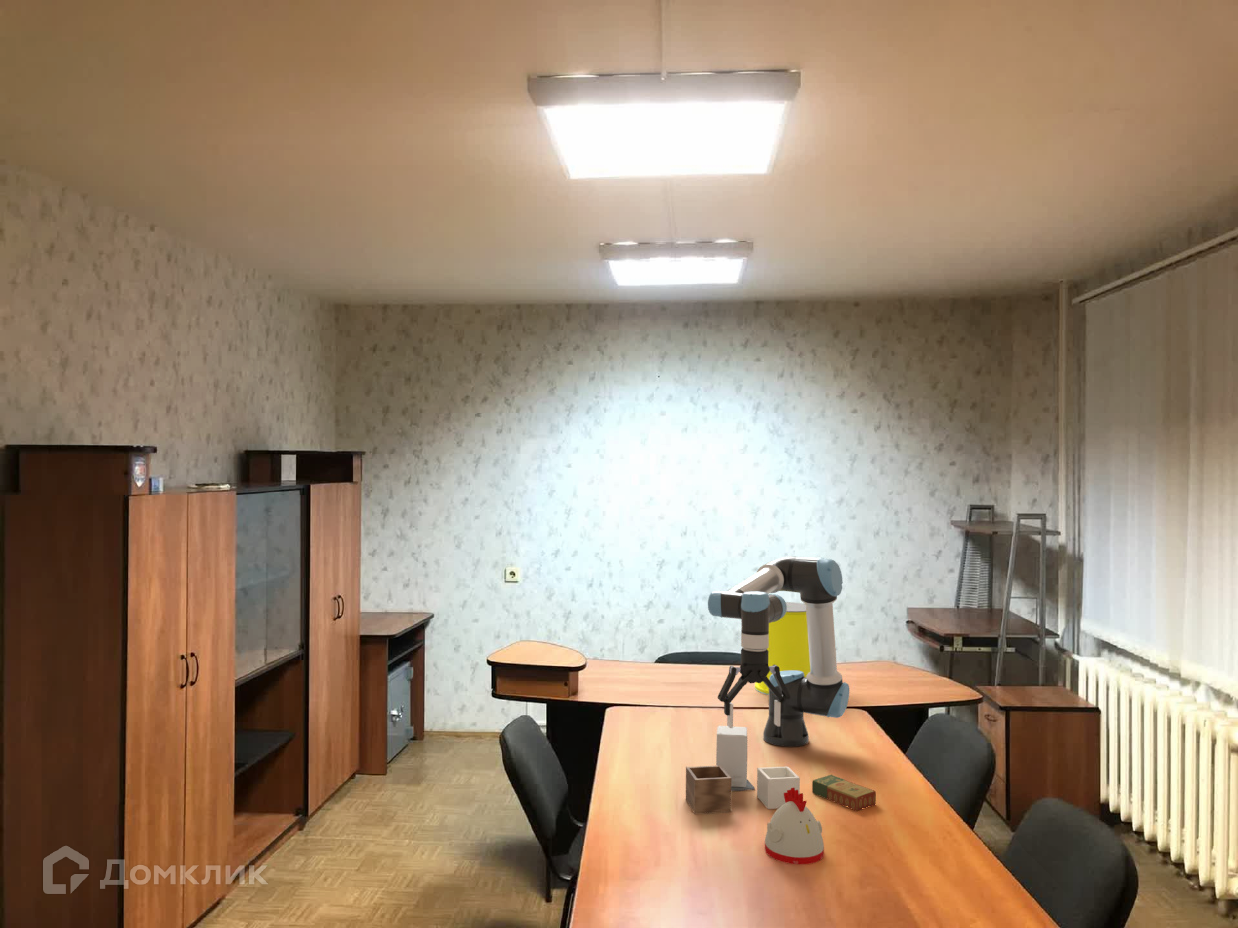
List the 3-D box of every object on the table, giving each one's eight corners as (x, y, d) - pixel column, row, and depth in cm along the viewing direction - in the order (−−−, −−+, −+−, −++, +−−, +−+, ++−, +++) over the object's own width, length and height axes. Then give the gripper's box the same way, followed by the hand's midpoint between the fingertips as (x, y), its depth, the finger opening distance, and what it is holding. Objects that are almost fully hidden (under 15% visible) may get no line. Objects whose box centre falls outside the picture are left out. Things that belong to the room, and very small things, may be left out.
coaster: (742, 776, 255) (742, 774, 255) (754, 789, 244) (754, 787, 244) (707, 777, 253) (707, 775, 253) (717, 791, 242) (717, 789, 242)
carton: (856, 812, 229) (856, 796, 229) (811, 793, 242) (811, 778, 242) (876, 805, 234) (876, 790, 234) (831, 787, 247) (831, 772, 247)
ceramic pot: (787, 794, 240) (787, 766, 240) (799, 806, 231) (799, 777, 231) (757, 796, 239) (757, 767, 239) (767, 808, 230) (768, 779, 230)
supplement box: (747, 788, 243) (747, 735, 243) (715, 786, 244) (716, 733, 245) (747, 777, 252) (747, 726, 252) (716, 775, 253) (717, 724, 254)
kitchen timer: (786, 868, 195) (787, 803, 195) (753, 844, 208) (754, 782, 208) (835, 858, 201) (836, 794, 201) (801, 835, 213) (801, 775, 213)
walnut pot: (720, 797, 237) (720, 765, 237) (731, 811, 227) (731, 777, 228) (685, 799, 236) (685, 766, 236) (694, 813, 226) (695, 779, 226)
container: (754, 680, 374) (755, 600, 374) (814, 683, 370) (815, 602, 371) (755, 695, 348) (756, 610, 349) (820, 698, 344) (820, 612, 345)
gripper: (792, 644, 240) (791, 720, 240) (707, 646, 235) (706, 723, 235) (802, 650, 233) (801, 727, 232) (715, 652, 228) (714, 731, 228)
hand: (753, 725), depth 234 cm, fingers open, 13 cm apart
